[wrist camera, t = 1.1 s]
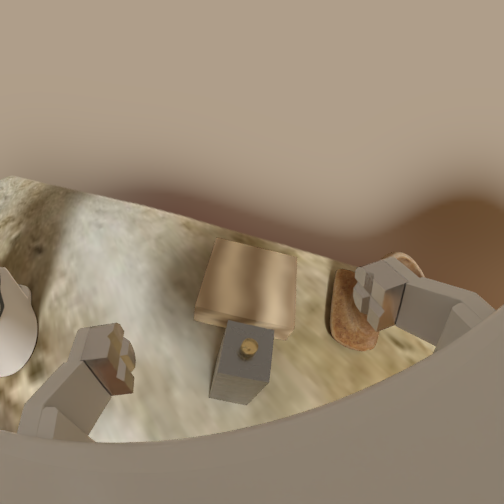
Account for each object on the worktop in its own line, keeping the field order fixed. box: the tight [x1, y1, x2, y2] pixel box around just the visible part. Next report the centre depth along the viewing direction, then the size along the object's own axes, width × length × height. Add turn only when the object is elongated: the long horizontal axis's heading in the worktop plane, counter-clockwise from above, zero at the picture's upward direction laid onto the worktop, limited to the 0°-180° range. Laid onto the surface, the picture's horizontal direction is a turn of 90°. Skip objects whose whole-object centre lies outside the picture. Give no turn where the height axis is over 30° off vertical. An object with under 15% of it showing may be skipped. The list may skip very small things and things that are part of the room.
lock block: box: [209, 320, 274, 405], centre depth 30 cm, size 5×6×12 cm
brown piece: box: [330, 252, 424, 351], centre depth 41 cm, size 15×12×15 cm
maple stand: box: [194, 237, 297, 340], centre depth 43 cm, size 14×14×4 cm
